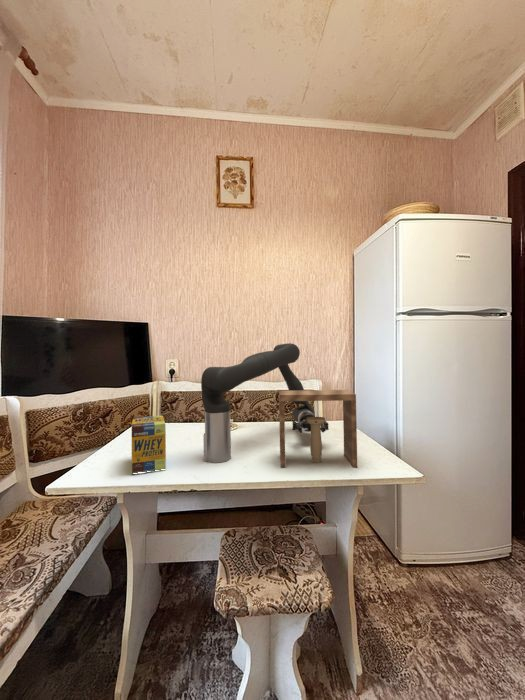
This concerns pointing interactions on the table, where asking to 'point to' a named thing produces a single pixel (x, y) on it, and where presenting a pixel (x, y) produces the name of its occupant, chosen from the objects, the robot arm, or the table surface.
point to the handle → (315, 437)
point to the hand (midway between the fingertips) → (312, 429)
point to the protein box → (148, 444)
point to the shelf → (324, 395)
